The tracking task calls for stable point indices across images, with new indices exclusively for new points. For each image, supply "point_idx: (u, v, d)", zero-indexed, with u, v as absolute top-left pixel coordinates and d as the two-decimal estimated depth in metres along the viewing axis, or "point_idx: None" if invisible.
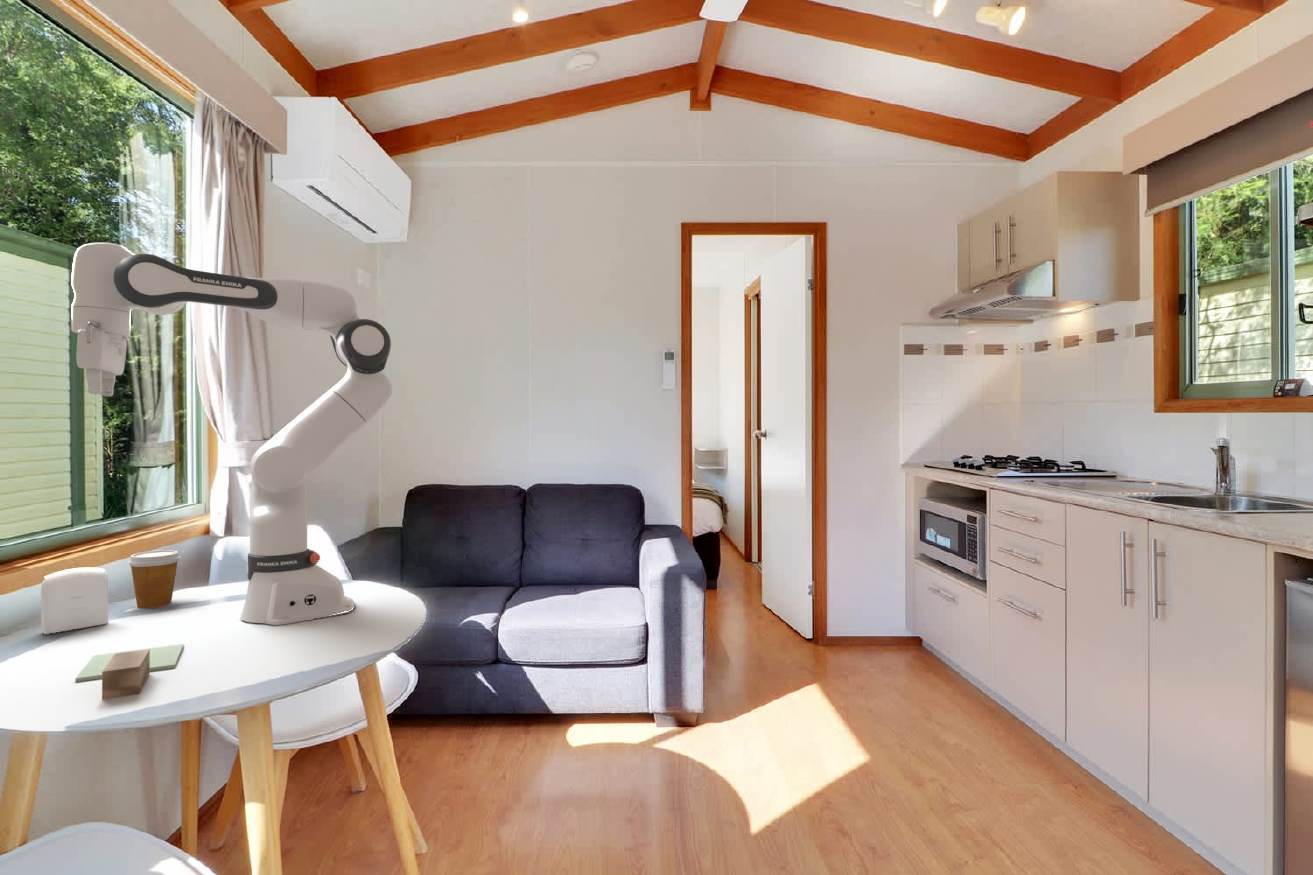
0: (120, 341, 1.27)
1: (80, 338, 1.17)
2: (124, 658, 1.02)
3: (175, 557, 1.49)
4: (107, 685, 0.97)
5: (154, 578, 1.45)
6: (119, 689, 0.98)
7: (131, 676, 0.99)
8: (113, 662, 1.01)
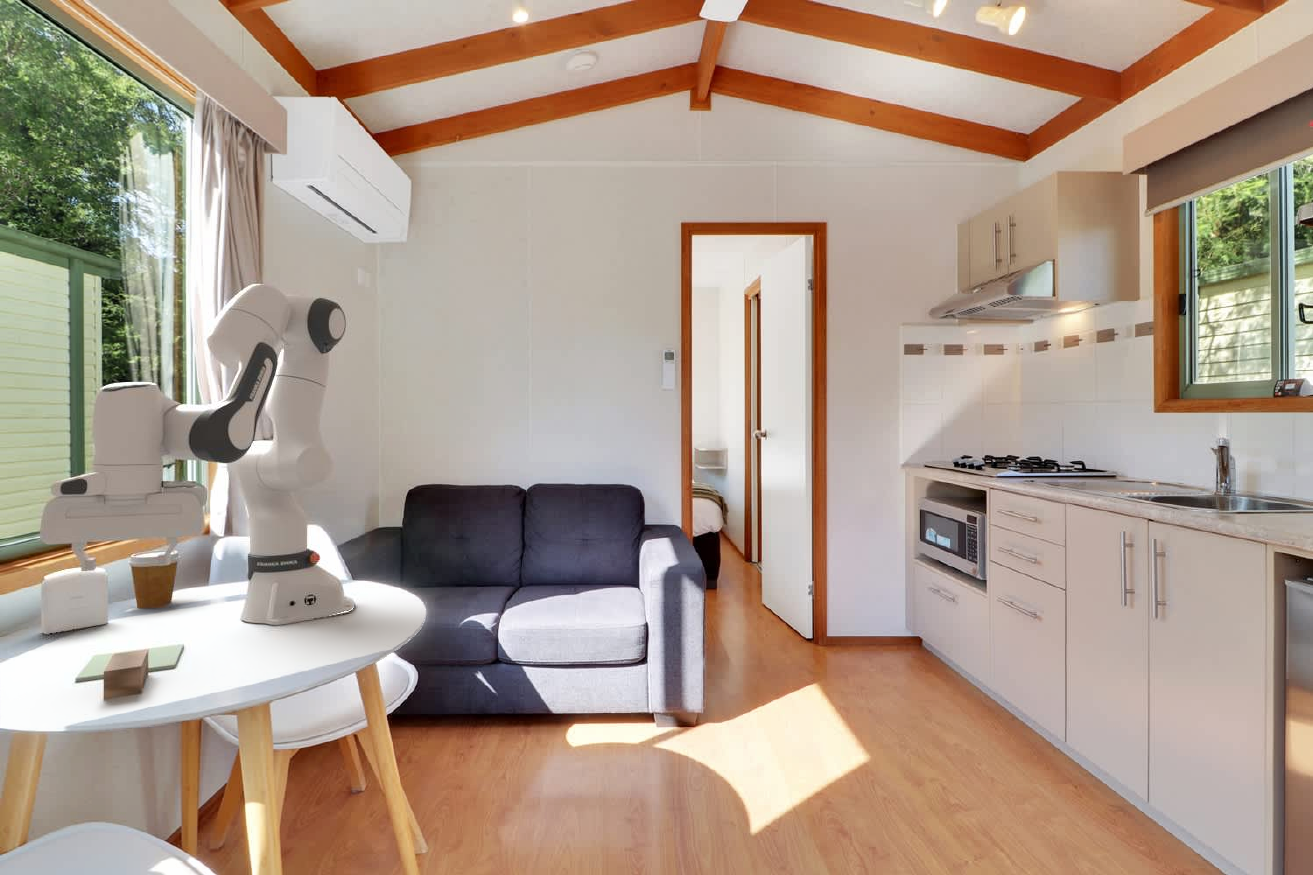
0: None
1: (199, 503, 1.06)
2: (124, 659, 1.02)
3: (175, 557, 1.49)
4: (109, 685, 0.97)
5: (154, 578, 1.45)
6: (121, 688, 0.98)
7: (133, 676, 0.99)
8: (113, 662, 1.01)
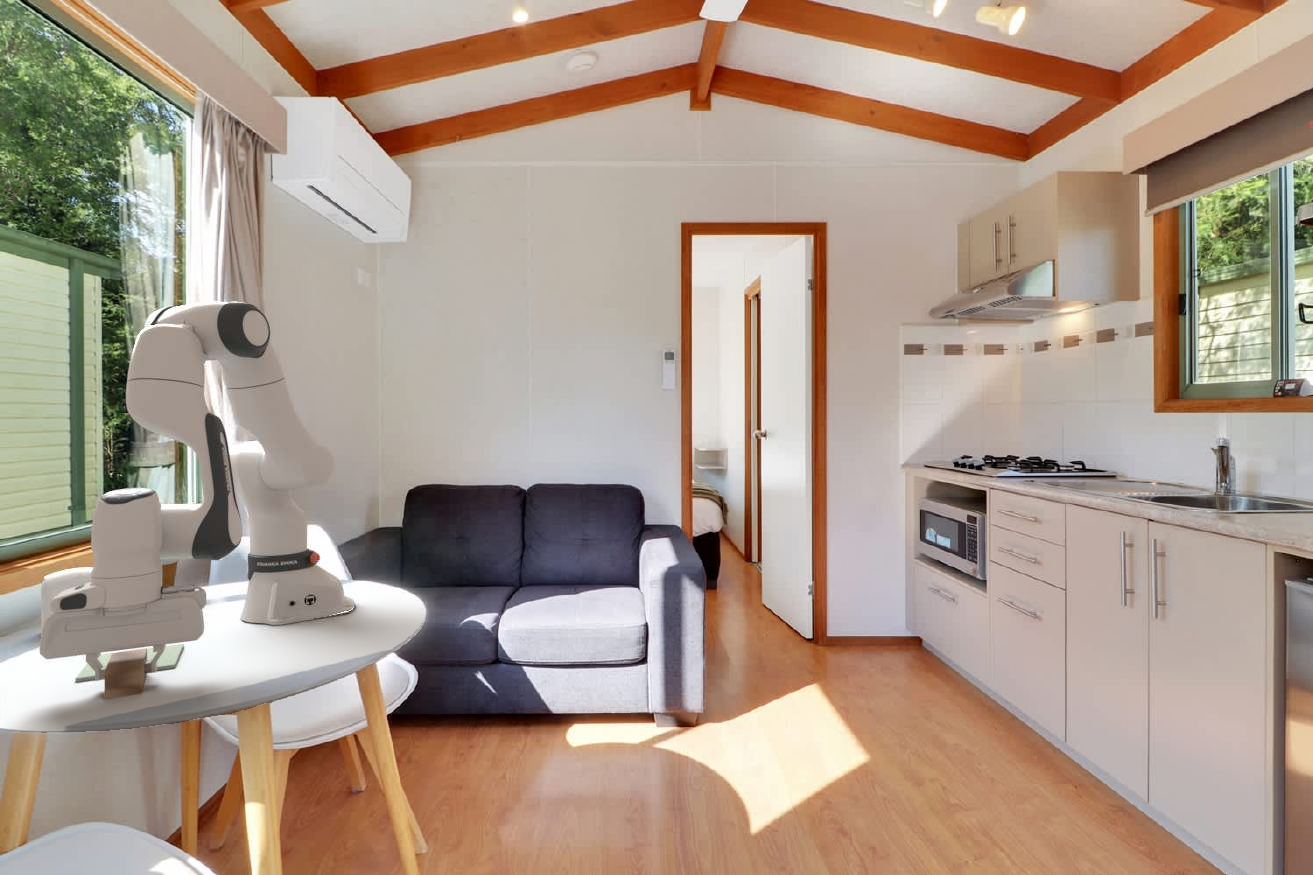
0: None
1: (199, 607, 1.06)
2: (124, 658, 1.02)
3: None
4: (110, 683, 0.97)
5: None
6: (122, 687, 0.98)
7: (134, 674, 0.99)
8: (113, 661, 1.01)
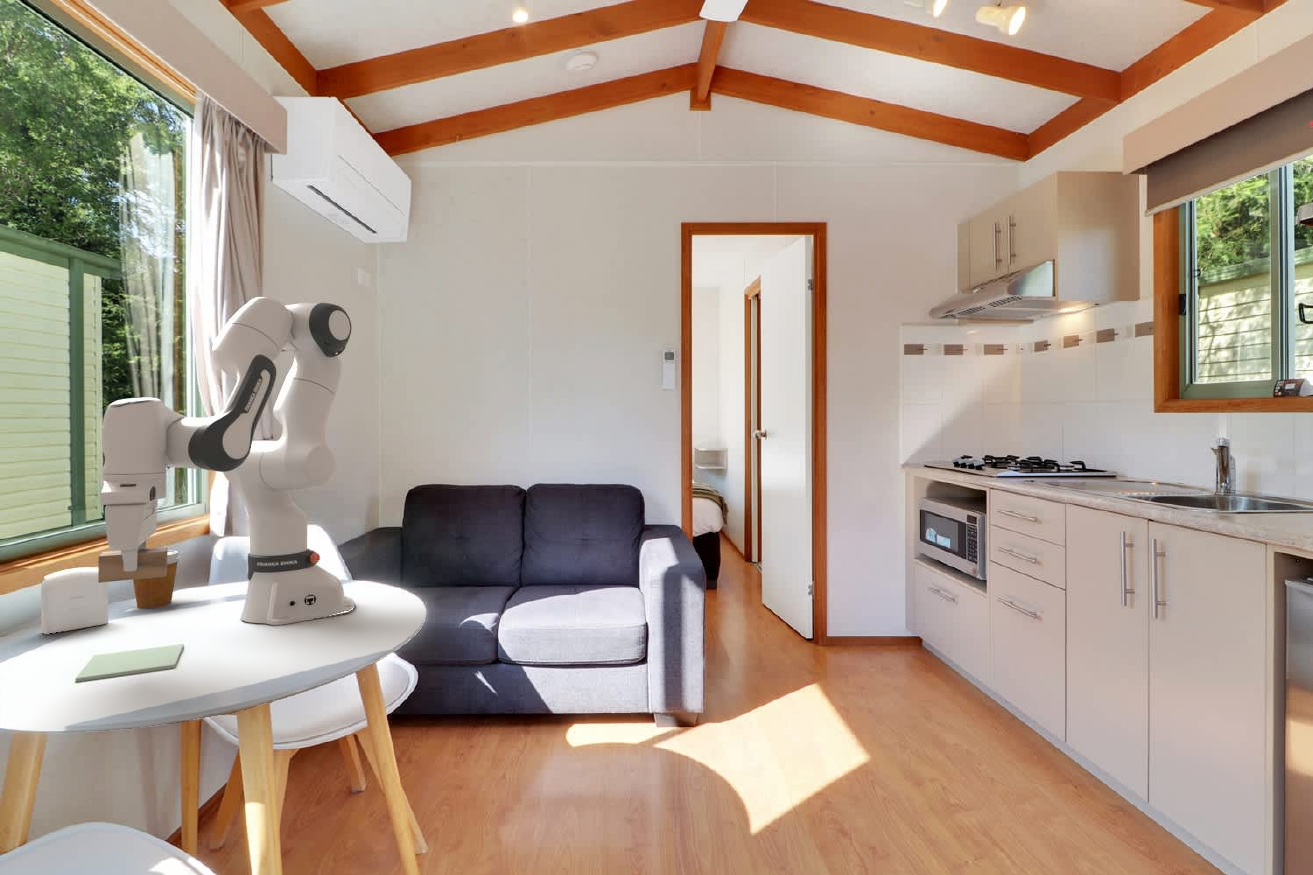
0: None
1: None
2: None
3: (175, 557, 1.49)
4: (165, 563, 1.13)
5: (154, 578, 1.45)
6: (166, 566, 1.14)
7: None
8: None
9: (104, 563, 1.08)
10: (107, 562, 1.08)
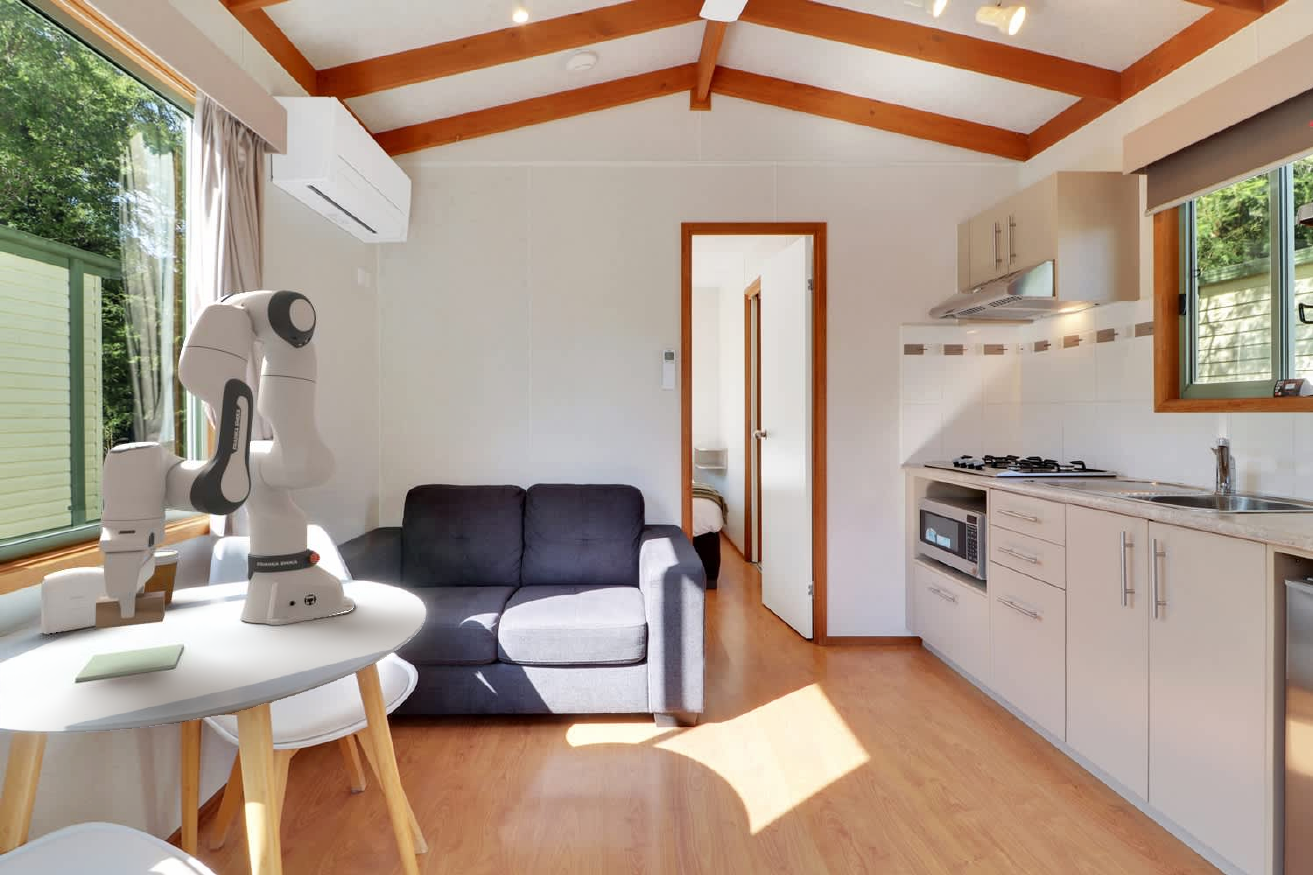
0: None
1: None
2: None
3: (175, 557, 1.49)
4: (163, 607, 1.13)
5: (154, 578, 1.45)
6: (163, 611, 1.14)
7: (164, 599, 1.15)
8: None
9: (101, 610, 1.07)
10: (105, 609, 1.08)
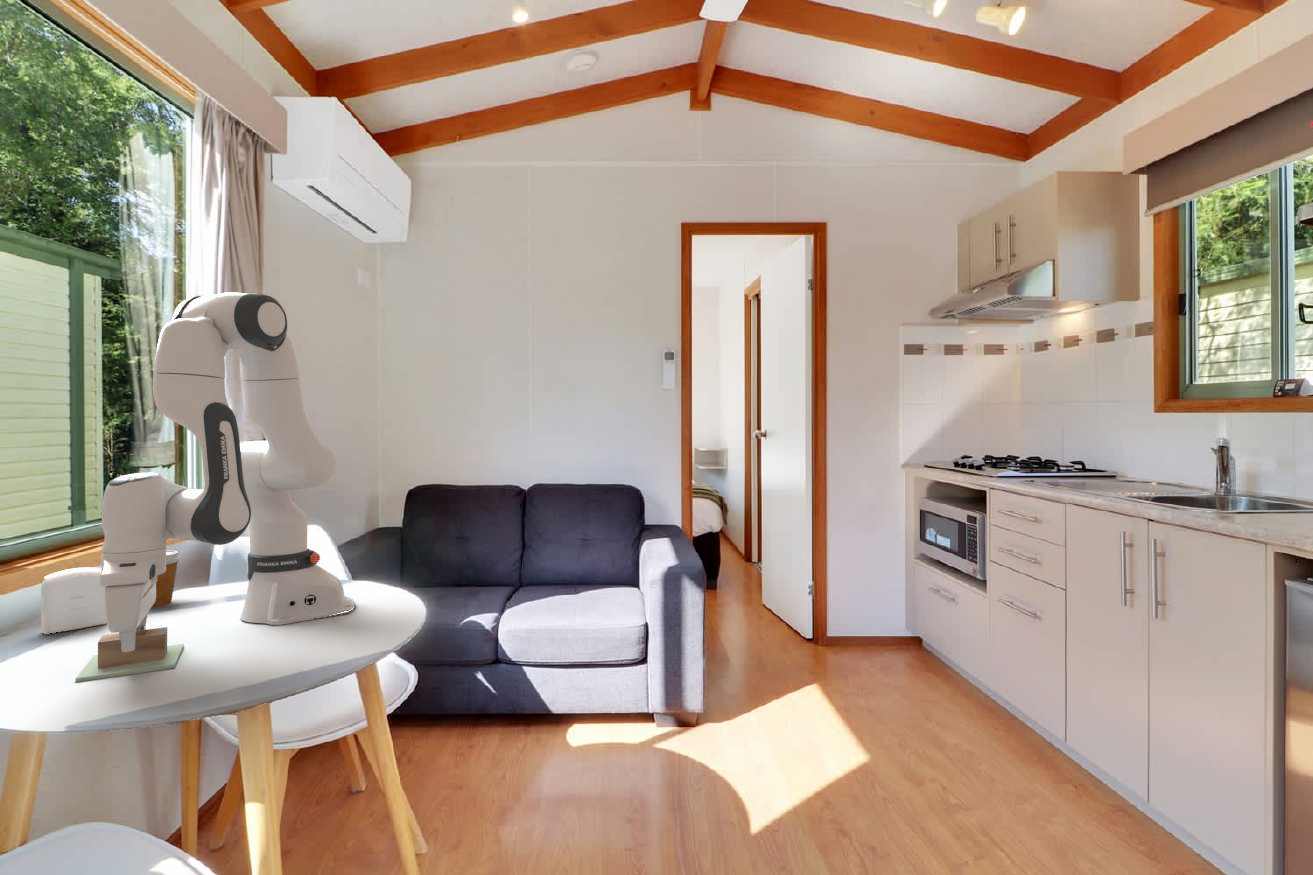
0: None
1: None
2: None
3: (175, 557, 1.49)
4: (165, 645, 1.13)
5: None
6: (165, 647, 1.14)
7: (166, 636, 1.15)
8: (136, 636, 1.11)
9: (103, 649, 1.08)
10: (107, 648, 1.08)
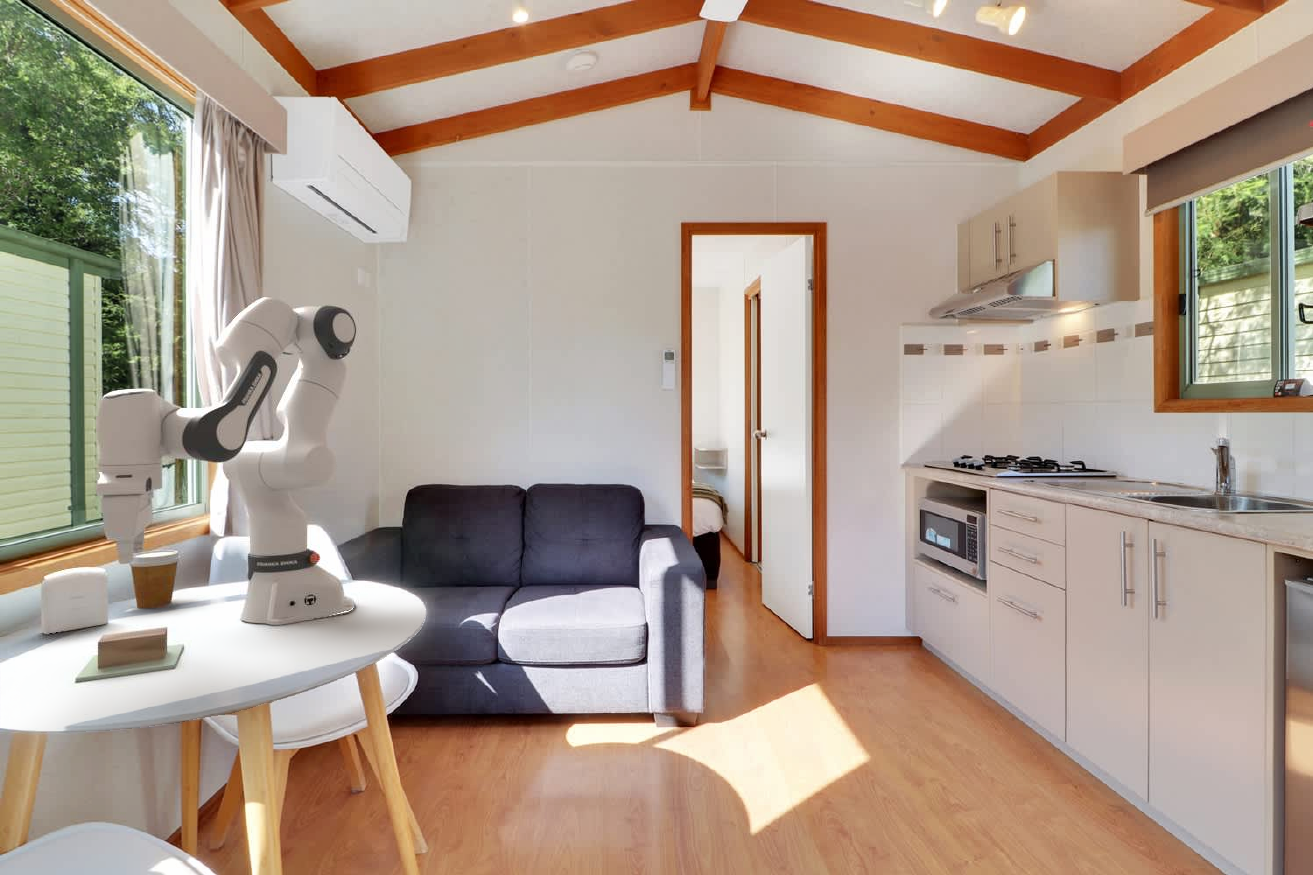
0: None
1: None
2: (129, 635, 1.11)
3: (175, 557, 1.49)
4: (165, 645, 1.13)
5: (154, 578, 1.45)
6: (165, 647, 1.14)
7: (166, 636, 1.15)
8: (136, 636, 1.11)
9: (103, 649, 1.08)
10: (107, 648, 1.08)
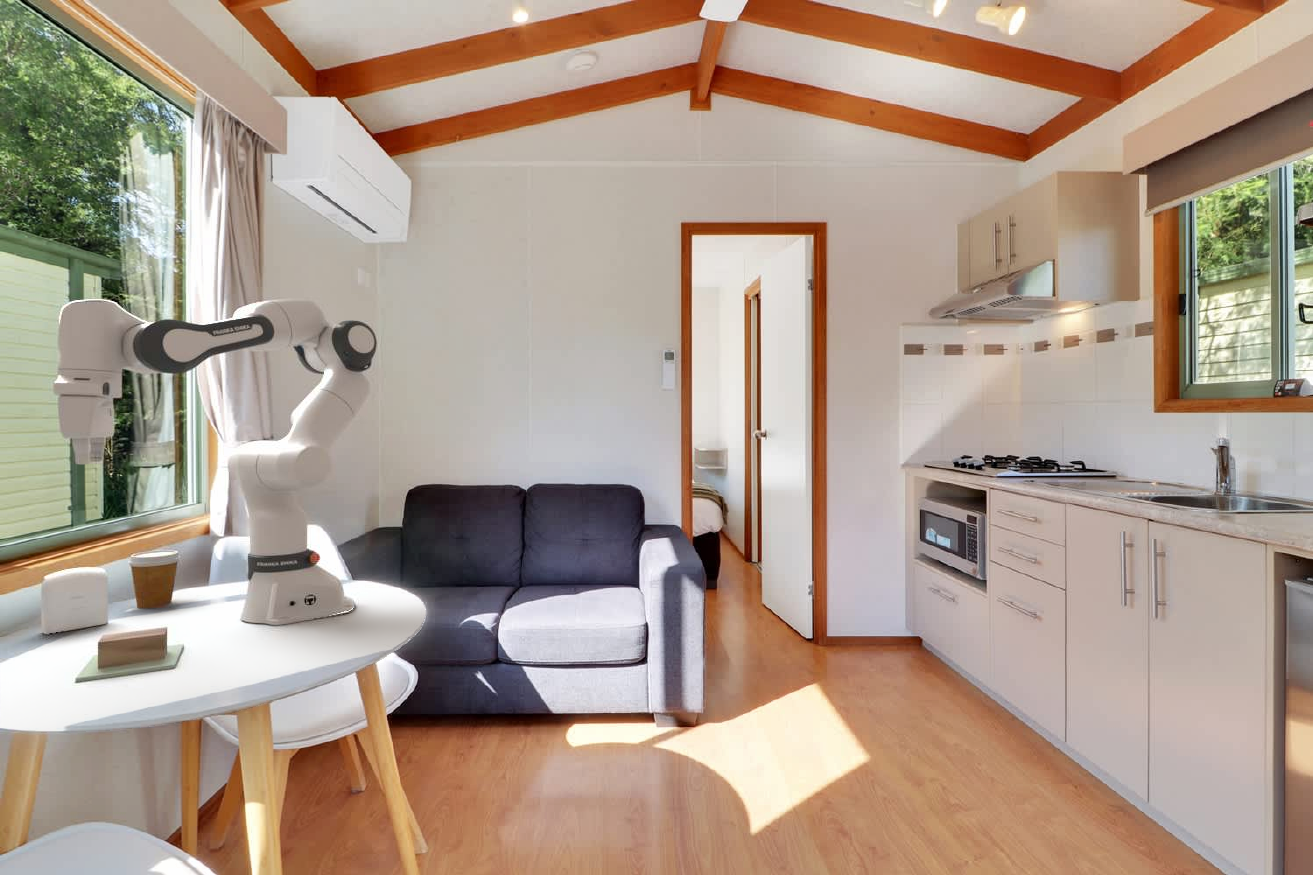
0: None
1: None
2: (129, 635, 1.11)
3: (175, 557, 1.49)
4: (165, 645, 1.13)
5: (154, 578, 1.45)
6: (165, 647, 1.14)
7: (166, 636, 1.15)
8: (136, 636, 1.11)
9: (103, 649, 1.08)
10: (107, 648, 1.08)
